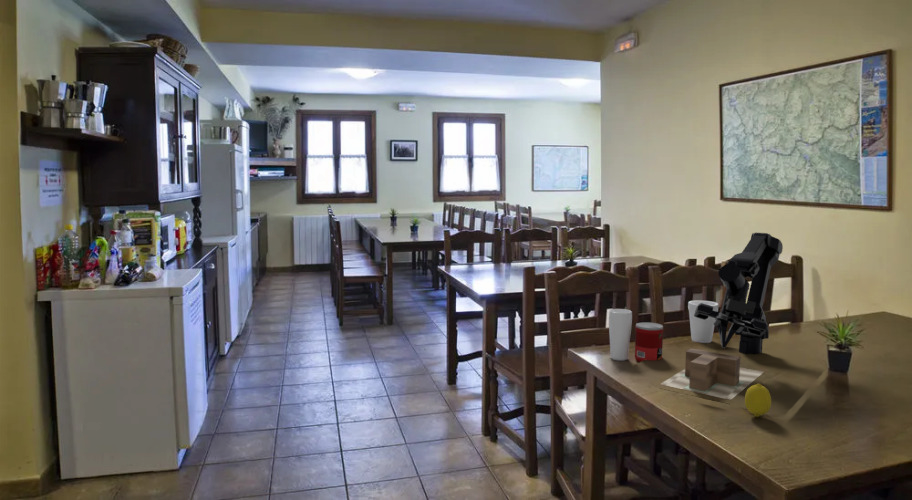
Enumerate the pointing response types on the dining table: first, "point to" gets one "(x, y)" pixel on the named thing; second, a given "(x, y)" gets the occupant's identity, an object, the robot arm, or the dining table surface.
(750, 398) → the lemon
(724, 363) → the t block
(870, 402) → the dining table surface
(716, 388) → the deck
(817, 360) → the dining table surface
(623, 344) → the light grey tumbler
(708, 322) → the foam cup
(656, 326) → the canned food
